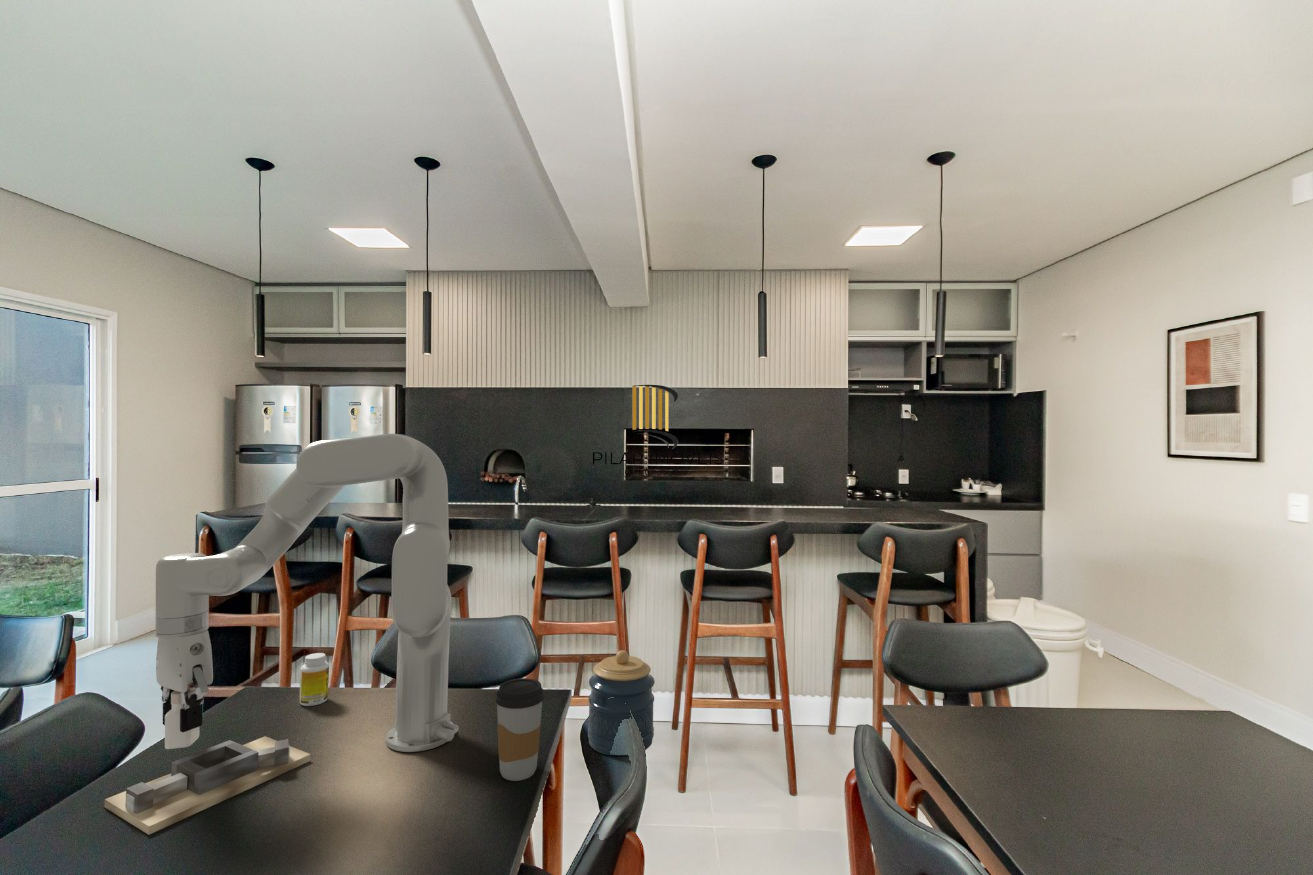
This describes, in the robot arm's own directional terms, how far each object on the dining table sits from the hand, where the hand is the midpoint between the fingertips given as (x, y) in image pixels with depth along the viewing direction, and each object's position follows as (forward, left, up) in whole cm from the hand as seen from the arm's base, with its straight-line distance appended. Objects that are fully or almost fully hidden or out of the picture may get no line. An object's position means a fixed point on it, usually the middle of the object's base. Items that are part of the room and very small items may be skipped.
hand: (182, 724), depth 107 cm
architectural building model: (-12, +1, -7) cm, 14 cm away
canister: (-64, -45, -7) cm, 79 cm away
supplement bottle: (+5, -27, -7) cm, 29 cm away
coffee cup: (-54, -27, -7) cm, 61 cm away
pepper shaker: (0, 0, -4) cm, 4 cm away
